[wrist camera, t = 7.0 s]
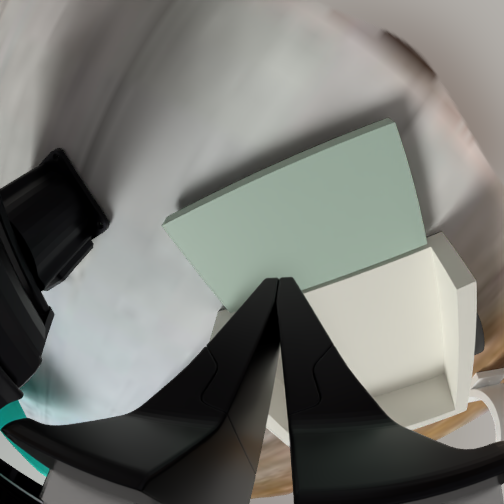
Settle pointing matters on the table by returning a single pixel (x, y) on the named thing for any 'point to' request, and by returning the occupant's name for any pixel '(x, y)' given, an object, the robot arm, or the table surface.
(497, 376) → the headphone stand
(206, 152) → the table surface
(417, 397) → the wagon bed
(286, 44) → the table surface
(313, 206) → the panel
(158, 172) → the table surface
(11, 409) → the table top decor
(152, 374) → the table surface
